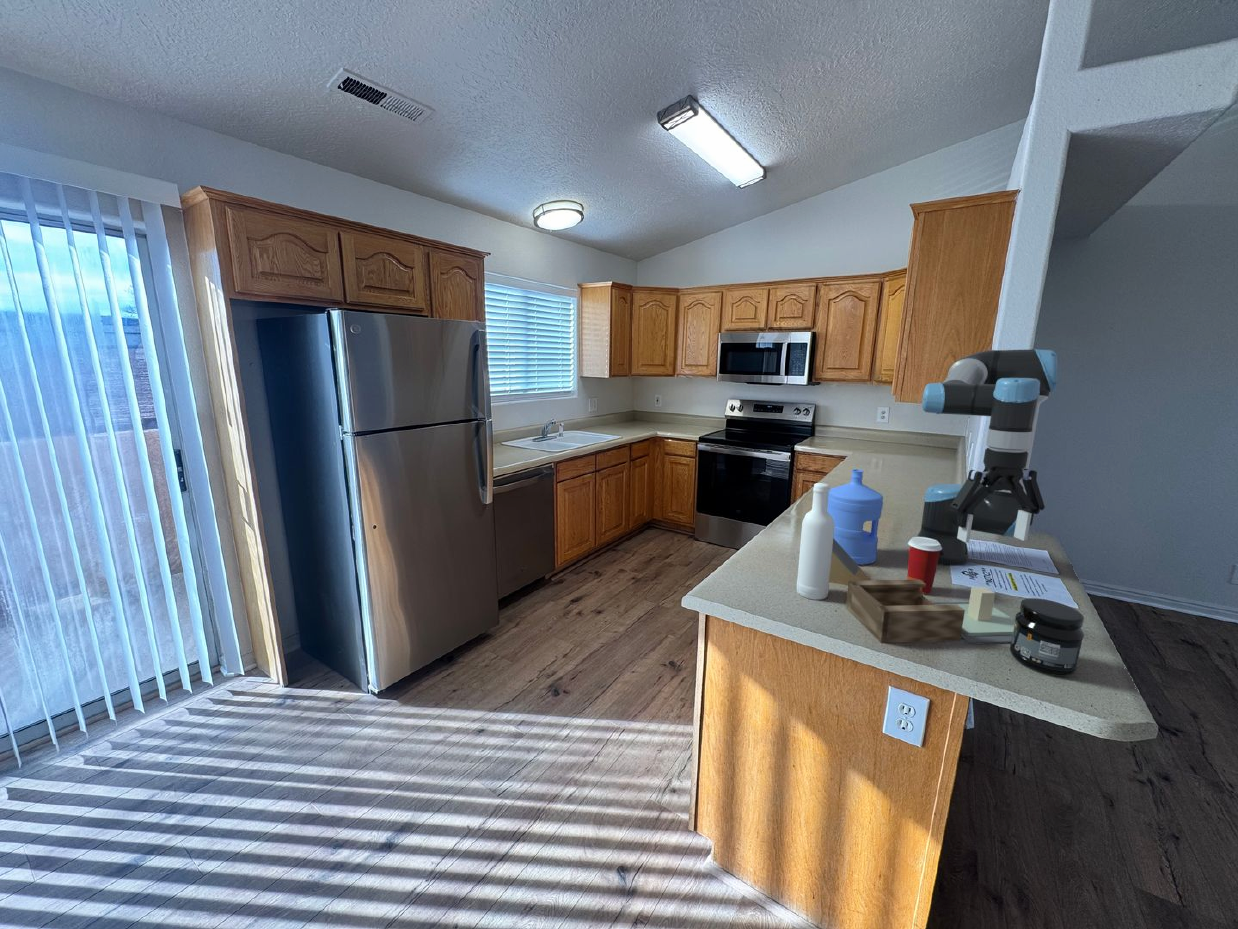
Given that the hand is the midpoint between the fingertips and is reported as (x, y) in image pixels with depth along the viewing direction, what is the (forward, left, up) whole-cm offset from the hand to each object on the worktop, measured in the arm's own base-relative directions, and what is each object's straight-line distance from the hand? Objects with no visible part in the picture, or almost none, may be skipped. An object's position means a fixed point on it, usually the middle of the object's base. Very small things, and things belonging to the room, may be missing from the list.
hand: (991, 539), depth 112 cm
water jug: (+10, -41, -21) cm, 47 cm away
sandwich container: (+21, -25, -21) cm, 39 cm away
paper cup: (+3, -17, -21) cm, 27 cm away
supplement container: (0, +16, -21) cm, 26 cm away
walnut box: (+19, 0, -21) cm, 28 cm away
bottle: (+34, -16, -21) cm, 42 cm away
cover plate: (0, 0, -20) cm, 20 cm away
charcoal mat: (0, 0, -21) cm, 21 cm away
